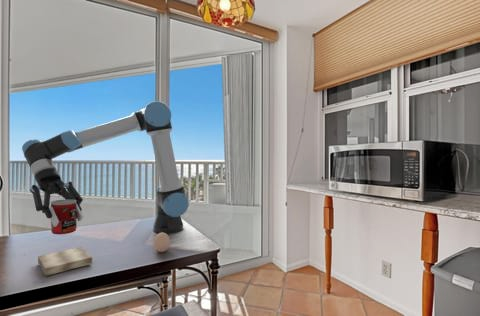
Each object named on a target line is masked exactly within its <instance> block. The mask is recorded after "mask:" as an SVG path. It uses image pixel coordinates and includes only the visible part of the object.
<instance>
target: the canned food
mask: <svg viewBox="0 0 480 316" xmlns="http://www.w3.org/2000/svg"><path fill="white" fill-rule="evenodd" d="M50 207H52V208H53V210H54V212H55V214H56V216H57V218H58V220H59V223H58V225H57V226H56V227H54V226H53V224H52V222H51V221H50V225H51V226H50V227H51V228H50V229H51V230H50V231H51V234H52V235H53V234H54V235H67V234H72V233H74V232H75V231H76V230H77V221H78V219H77V205H76V200H72V199H65V198H64V199H59V200H53V201H50Z"/></svg>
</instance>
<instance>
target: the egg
mask: <svg viewBox="0 0 480 316" xmlns="http://www.w3.org/2000/svg"><path fill="white" fill-rule="evenodd" d="M170 245H171V239H170V236H169V235H168V233H163V232H162V233H158V234H156V236H155V237H154V238H153V247H154V249H155V251H157V252H159V253H164V252H166V251H167V250H168V249H169V248H170Z"/></svg>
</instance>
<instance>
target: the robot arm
mask: <svg viewBox="0 0 480 316" xmlns="http://www.w3.org/2000/svg"><path fill="white" fill-rule="evenodd" d="M171 119H172V111H171V109H170V106H169V105H168V104H166V103H165V102H163V101H159V100H153V101H150V102H148V103H147V104H146V105H145V106H144V108H142V109H140V110H137V111H135V112H132V113H131V115H129V116H126V117H122V118H119V119H118V118H117V119H116V120H112V121H109V122H107V123H106V122H105V123H103V124H99V125H96V126H93V127H87V128H86V129H83V130H79V131H76V132H75V131H74V130H72V129H69V130H67V131H63V132H61V133H60V134H58V135H55V136H52V137H51V138H48V139H47V140H43V141H42V140H40V139H29V140H27V141H25V142H24V143H23V144H22V146H21V150H22V153H23V157H24V158H25V160H26V162H27V164H28V166H29V168H30V171H31V173H32V175H33V177H34V179H35V181H36V184H37V185H36V184H32V186H31V187H30V189H29V191H30V193H31V194H32V197H33V200H34V205H35V211H37V212H40V211H41V213H43V214H44V215H45V216H46V218H47V219H50V223H51V222H52V224H53V226H54V227H56V226H57V225H58V223H59V220H58V218H57V216H56V214H55V212H54V210H53V208H52V207H51V206H50V205H51V195H54V194H56V195H58V196H60V197H62V198H63V199H64V200H65V199H72V200H76V205H77V221H78V222H81V221H82V220H83V219H84V215H83V213H82V207H81V204H82V203H83V200H84V198H83V197H82V196H81V195H80V194H79V192H78V191H77V190H76V188H75V187H74V185H73V182H72V181H69V182H64V181H63V180H62V177H61V175H60V173H59V171H58V169H57V167H56V165H55V163H54V161H53V159H55V158H57V157H60V156H62V155H64V154H67V153H72V152H75V151H77V150H80V149H83V148H86V147H88V146H92V145H96V144H98V143H102V142H104V141H107V140H111V139H114V138H118V137H120V136H121V137H122V136H124V135H126V134H130V133H132V132H133V133H134V132H136V131H138V132H144V131H145V132H146V134H147V135H148V136H150V139H151V144H152V147H153V148H152V149H153V153H154V158H155V162H156V168H157V173H158V177H159V181H160V186H157V188H156V217H155V220H154V224H153V232H155V233H156V234H157V233H158V234H159V233H162V232H163V233H166V234H173V233H178V232H181V231H182V230H184V223H183V220H182V217H181V216H183V215H184V214H185V213H186V212H187V211H188V209H189V205H190V204H189V203H190V202H189V199H188V197H187V195H186V193H185V188H184V184H183V183H181V182H180V180H179V173H178V169H177V164H176V158H175V154H174V153H175V152H174V148H173V144H172V138H171V132H172V130H173V126H172V121H171ZM40 191H43V197H44V198H43V200H42V197H41V193H40Z"/></svg>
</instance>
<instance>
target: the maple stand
mask: <svg viewBox="0 0 480 316" xmlns="http://www.w3.org/2000/svg"><path fill="white" fill-rule="evenodd" d="M37 264H38V266H39V267H40V269H41V270H42V272H43V274H44V275H45V276H47V277H48V276H52V275H55V274H57V273H62V272H66V271H69V270H73V269H76V268H77V269H78V268H81V267H82V268H83V267H86V266H90V265H92V264H93V256H92V255H91V254H90V253H88V252H87V251H86V250H85V249H84V247H82V246H79V247H75V248H71V249H65V250H61V251H57V252H51V253H46V254H43V255H38V256H37Z"/></svg>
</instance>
